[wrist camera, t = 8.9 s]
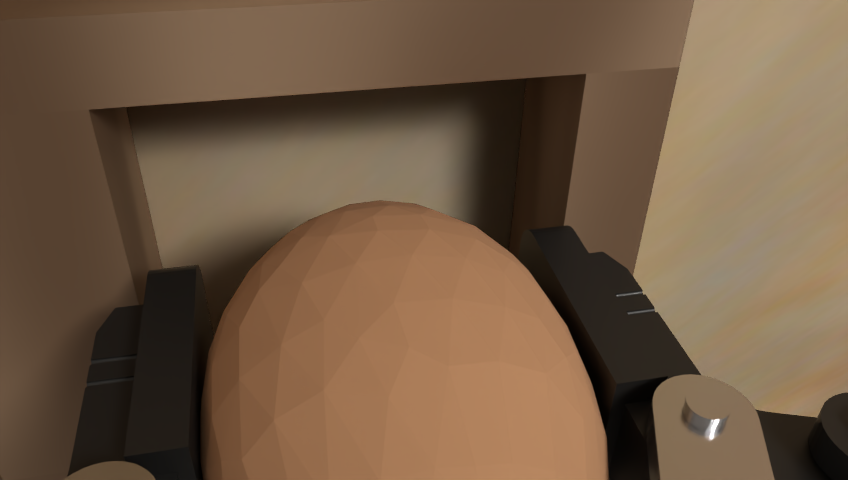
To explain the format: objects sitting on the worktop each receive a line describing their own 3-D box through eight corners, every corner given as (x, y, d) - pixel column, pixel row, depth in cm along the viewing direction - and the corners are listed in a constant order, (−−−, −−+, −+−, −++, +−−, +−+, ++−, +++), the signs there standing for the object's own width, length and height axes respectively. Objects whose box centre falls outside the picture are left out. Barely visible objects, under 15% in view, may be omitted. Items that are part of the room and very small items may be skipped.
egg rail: (-420, 487, 15) (-520, 611, 13) (-905, -2, 9) (-1211, 82, 7) (557, 351, 18) (598, 430, 16) (624, -62, 13) (697, -16, 11)
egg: (521, 317, 15) (734, 772, 9) (267, 396, 15) (296, 919, 9) (477, 81, 12) (758, 526, 6) (152, 178, 12) (64, 752, 5)
